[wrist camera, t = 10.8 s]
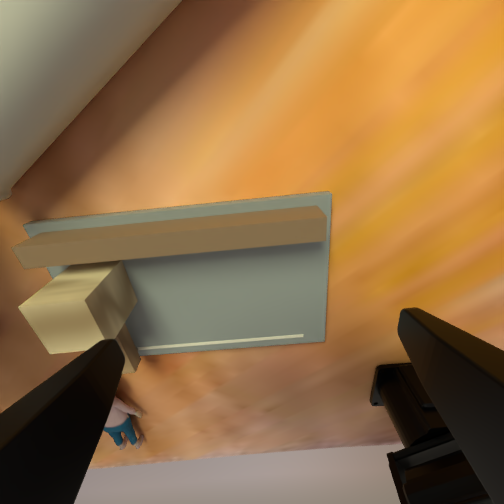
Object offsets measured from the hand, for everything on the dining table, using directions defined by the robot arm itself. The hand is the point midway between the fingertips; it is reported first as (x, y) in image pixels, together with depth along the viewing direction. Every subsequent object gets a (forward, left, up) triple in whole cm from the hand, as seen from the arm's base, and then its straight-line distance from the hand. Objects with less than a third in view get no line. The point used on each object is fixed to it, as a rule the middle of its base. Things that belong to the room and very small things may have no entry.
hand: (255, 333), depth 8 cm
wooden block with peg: (-7, +12, -11) cm, 18 cm away
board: (-6, +5, -12) cm, 14 cm away
